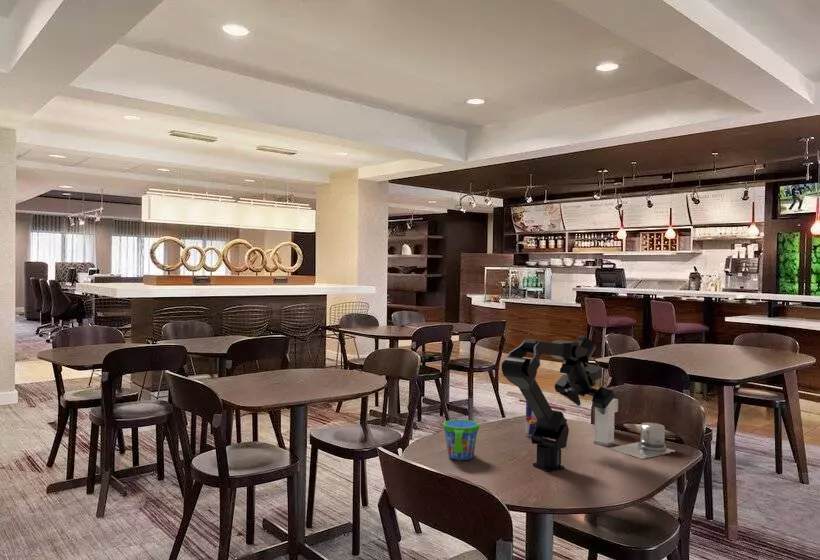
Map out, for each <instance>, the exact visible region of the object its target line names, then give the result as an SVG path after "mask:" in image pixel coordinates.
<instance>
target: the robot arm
mask: <svg viewBox="0 0 820 560" xmlns="http://www.w3.org/2000/svg"><path fill="white" fill-rule="evenodd" d="M596 347H597V345H596V343H594V341H592V340H591V339H589V338H587V335H581V334H580V335H579V336H578V338H577V341H574V340H563V339H562V340H561V339H555V340H553V341H551V342H548V341H541V340H539V339H532V338H531V339H530V338H526V339H523V340H522V342H521V343H520V345H519V346H517V347H515V348H514V349H512V350H511V351H509V352H508V354H507V355H506V357H505V358H504V360H503V361H502V363H501V373H502V375H503V376H504V378H506V380H507V381H508V382H510V383H511V384H513V385H514V386H516V387H517V388H518V389H519V390H520V393H522V395H523V398H524V399H525V401H526V402H527V403H528V404H529V406H530V408H531V409H532V411H533V413H534V415H535V416H536V418H537V421H536V424H535V426H536V428H535V430H534V432H533V434H532V436H531V438H530V441H531V442H530V443H531V444H532V445H536V462H533V463H532V466H534V467H536V468H538V469H541V470H544V471H546V472H552V471H557V470H562V469H565V466H564V465H562V449H564V448H566V447H567V443H568V437H569V431H570V428H569V425H568V423H567V421H568V420H567V419H566V418H565V414H564V413H563V412H562V411H558V410H555V409H552V407H551V406H550V404H549V402H548V400H547V398H546V396H545V394H544V392H543V391H542V389H541V387H540V386H539V384H538V382H537V379H536V378H537V374H538V369H539V367H540V366H541V359H540V357H541V355H545V356H550V357H552V358H553V359H555V360H563V362H562V363H561V366H560V368H559V373H561V374H562V375H561V376H560V378H559V379H558V380H557V381H556V382H555V383H554V387H553V388H554V389H555V392H556V393H559V395H561V396H563V397H564V398H567V400H569V401H570V402H572V403H573V404H575V405H576V406H578V407H580V406H581V404H582V403H581V400H580V397H579V396H581V397H585V396H586V395H588V396H591V397H592V400H591V402H592V404H593V407H594V409H595V408H596V409H597V410H598V411H599V412H600V413H601V414H602V415H604V414H605V411H606V407H607V406H608V404H609V403H610V402H611V401H612V399H615V397H616V394H615V392H614V389H611V388H608V387H605V386H600V387H599V388H598V389H597V388H596V387H595V388H594V386H596V384H597V382H596V381H598V380H599V379H602V378H603V369H602V366H598V365H596V364H593V363H591V364H590V363H589V361H590V360H591V357H592V356H593V353H594V351H595V350H596ZM526 355H533V356H532V358H526Z"/></svg>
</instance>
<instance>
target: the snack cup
mask: <svg viewBox="0 0 820 560" xmlns="http://www.w3.org/2000/svg"><path fill="white" fill-rule="evenodd" d="M442 426H443V429H444V434H445V441H446V442H445V444H446V450H447V456H448V457H449V459H452V460H456V461H468V460H471V459H473V457H474V455H475V450H476V443H477V438H478V437H477V436H478V431H479V429H480V424H479V422H477V421H473V420H469V419H450V420H446V421H444V422H443V425H442Z"/></svg>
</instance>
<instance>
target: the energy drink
mask: <svg viewBox="0 0 820 560" xmlns="http://www.w3.org/2000/svg"><path fill="white" fill-rule="evenodd" d="M536 421H537V418H536V416H535V415H534V413H533V411H532V409H531V408H530V406H529V404H528V403H527V401H526V403H525V436H527V438H528V437H529V438H528V439H531V436H532V434H533V432H534V430H535V428H536V426H535V424H536Z"/></svg>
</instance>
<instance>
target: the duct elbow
mask: <svg viewBox="0 0 820 560" xmlns="http://www.w3.org/2000/svg"><path fill="white" fill-rule="evenodd" d="M617 412H619V399H618V398H613V399H612V401H611V402H610V403H609V404H608V406H607V407H606V411H605V414H604V415H602V414H601V413H600V412H599V411H598V410H597V409H596V408H595V407H594V437H593V438H594V440H593V444H595V445H597V446H598V445H599V446H604V447H610V446H612V445H615V443H616V441H615V413H617Z"/></svg>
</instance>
